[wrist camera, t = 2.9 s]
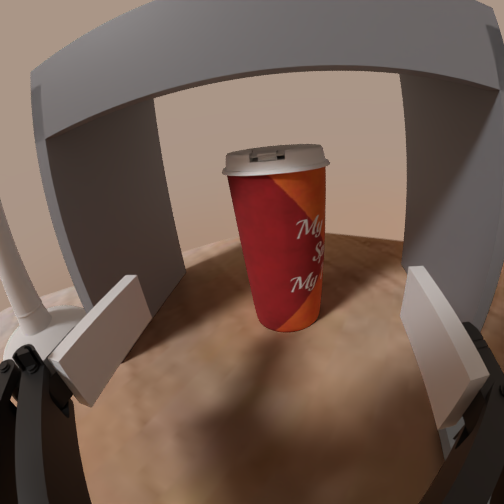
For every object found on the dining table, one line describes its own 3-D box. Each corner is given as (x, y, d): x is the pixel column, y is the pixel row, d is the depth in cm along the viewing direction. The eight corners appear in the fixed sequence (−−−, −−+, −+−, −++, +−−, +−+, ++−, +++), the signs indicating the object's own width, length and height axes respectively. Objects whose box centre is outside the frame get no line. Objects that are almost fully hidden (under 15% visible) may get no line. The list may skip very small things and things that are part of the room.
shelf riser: (410, 263, 29) (406, 55, 19) (467, 361, 14) (492, 8, 5) (177, 272, 34) (142, 83, 25) (111, 361, 20) (30, 72, 11)
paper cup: (331, 341, 20) (331, 148, 14) (235, 338, 22) (202, 159, 16) (330, 288, 27) (326, 142, 21) (255, 288, 29) (236, 148, 23)
